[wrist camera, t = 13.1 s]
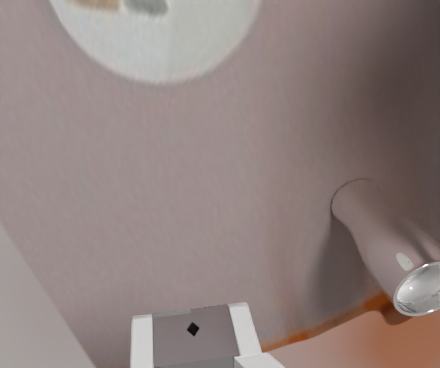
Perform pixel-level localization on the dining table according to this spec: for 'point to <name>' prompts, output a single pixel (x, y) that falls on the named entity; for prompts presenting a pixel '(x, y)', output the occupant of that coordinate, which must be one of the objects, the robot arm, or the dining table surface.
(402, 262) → the beer glass
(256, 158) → the dining table surface
